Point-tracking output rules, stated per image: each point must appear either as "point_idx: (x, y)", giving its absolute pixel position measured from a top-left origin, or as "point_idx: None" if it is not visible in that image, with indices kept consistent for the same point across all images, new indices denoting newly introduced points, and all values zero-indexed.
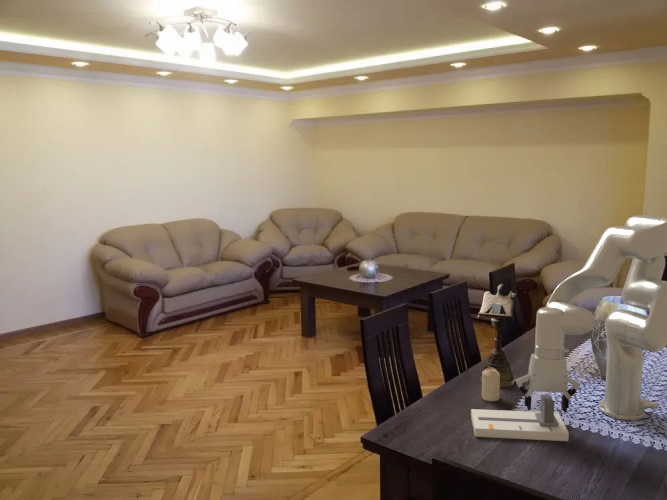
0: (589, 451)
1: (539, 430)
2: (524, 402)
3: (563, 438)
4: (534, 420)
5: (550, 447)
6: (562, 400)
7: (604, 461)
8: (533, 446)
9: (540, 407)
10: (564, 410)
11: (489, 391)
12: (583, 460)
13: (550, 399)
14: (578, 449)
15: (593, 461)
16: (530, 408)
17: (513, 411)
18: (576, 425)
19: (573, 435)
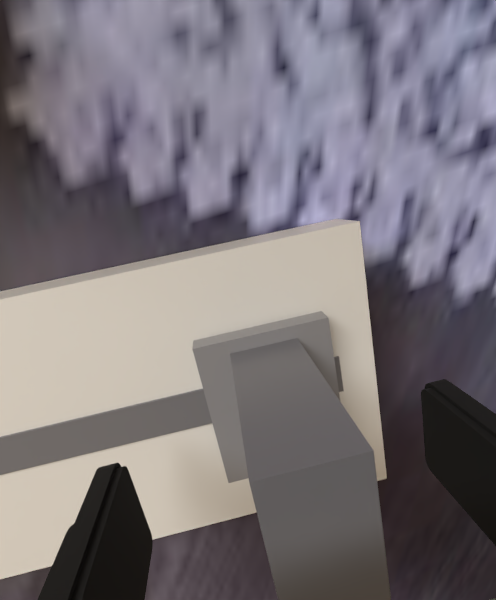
0: (438, 493)
1: (226, 511)
2: (66, 533)
3: None
4: (191, 405)
5: None
6: (487, 473)
7: (475, 542)
8: (198, 541)
9: (234, 380)
10: (439, 476)
11: None
12: (398, 564)
13: (362, 578)
14: (395, 494)
15: (434, 557)
16: (145, 559)
17: (17, 307)
18: (437, 250)
19: (398, 376)
